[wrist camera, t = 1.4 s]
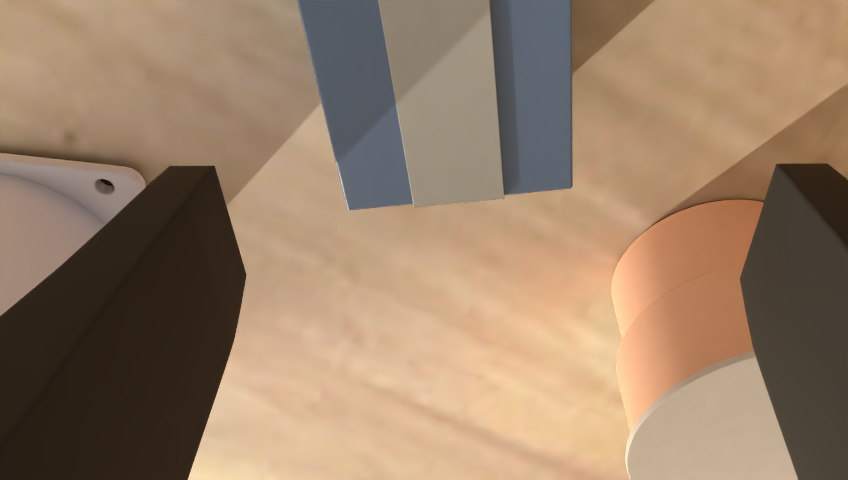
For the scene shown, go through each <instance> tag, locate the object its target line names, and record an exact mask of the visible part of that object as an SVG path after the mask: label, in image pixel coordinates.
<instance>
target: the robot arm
mask: <svg viewBox="0 0 848 480" xmlns="http://www.w3.org/2000/svg"><path fill="white" fill-rule="evenodd" d="M100 179H105V180H108V181H110V182H111V183H112V184H113V186H109V185H106V184H104V183H103V182H101V180H100ZM245 280H246V272H245V269H244V265H243V262H242V258H241V255H240V251H239V248H238V245H237V241H236V238H235V234H234V231H233V227H232V224H231V221H230V217H229V214H228V210H227V207H226V203H225V200H224V197H223V193H222V190H221V186H220V183H219V179H218V176H217V173H216V169H215V166H169V167H168V168H167V169H166V170H165V171H164V172H162V173H161V174H160V175H159V176H158V177H157V178H155V179H154V180H153V181H152V182H151V183H150V184H149V185H148V186H147V187H146V183H145V181H144V178H143V176H142V175H141V174H140V173H139V172H137V171H136V170H134V169H132V168H129V167H125V166H116V165H107V164H98V163H89V162H80V161H71V160H62V159H52V158H43V157H34V156H25V155H16V154H7V153H0V480H188V477H189V474H190V471H191V468H192V465H193V462H194V459H195V456H196V453H197V450H198V447H199V444H200V441H201V438H202V435H203V432H204V430H205V427H206V424H207V421H208V418H209V415H210V412H211V409H212V406H213V403H214V400H215V397H216V394H217V391H218V388H219V385H220V382H221V379H222V376H223V373H224V370H225V367H226V364H227V361H228V358H229V355H230V352H231V348H232V345H233V342H234V338H235V333H236V328H237V324H238V319H239V314H240V308H241V303H242V297H243V291H244V286H245ZM740 283H741V289H742V295H743V300H744V306H745V312H746V317H747V322H748V327H749V331H750V336H751V341H752V346H753V350H754V353H755V356H756V359H757V362H758V365H759V368H760V371H761V374H762V377H763V380H764V383H765V386H766V389H767V392H768V394H769V397H770V400H771V403H772V406H773V409H774V412H775V415H776V418H777V421H778V423H779V426H780V429H781V432H782V435H783V438H784V441H785V444H786V446H787V449H788V452H789V455H790V458H791V461H792V464H793V467H794V469H795V472H796V475H797V478H798V480H848V180H847V179H846V178H845V177H843V176H842V175H841V174H840V173H838V172H837V171H836V170H835V169H833V168H832V167H831V166H830V165H828V164H776V167H775V170H774V173H773V176H772V179H771V182H770V185H769V189H768V192H767V195H766V198H765V201H764V204H763V207H762V210H761V214H760V217H759V220H758V223H757V226H756V229H755V232H754V235H753V239H752V242H751V245H750V248H749V251H748V254H747V257H746V260H745V264H744V267H743V270H742V273H741V276H740Z"/></svg>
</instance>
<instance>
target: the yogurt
mask: <svg viewBox="0 0 848 480" xmlns="http://www.w3.org/2000/svg"><path fill="white" fill-rule="evenodd" d="M763 204H764V202H760V201H754V200H739V199H738V200H722V201H715V202H709V203H705V204H700V205H696V206H693V207H690V208H687V209H684V210H682V211H679V212H677V213H675V214H673V215H670V216H668V217H667V218H665V219H663V220H661V221H660V222H658V223H656V224H655V225H653V226H652V227H650V228H649V229H648V230H646V231H645V232H644V233H643V234H641V235H640V236H639V237H638V238H637V239H636V240H635V241H634V242H633V243H632V244H631V245H630V246H629V248H628V249H627V250H626V252H625V253H624V254H623V256H622V257H621V259H620V261H619V263H618V265H617V267H616V270H615V273H614V276H613V280H612V287H611V291H612V300H613V304H614V308H615V312H616V316H617V320H618V324H619V328H620V332H621V335H622V342H621V345H620V348H619V350H618V354H617V361H616V371H617V377H618V382H619V386H620V390H621V394H622V399H623V403H624V407H625V411H626V415H627V420H628V424H629V428H630V432H631V434H630V436H629V439H628V441H627V447H626V452H625V456H626V467H627V471H628V474H629V478H630V480H798V478H797V475H796V472H795V469H794V467H793V464H792V461H791V458H790V455H789V452H788V449H787V446H786V444H785V441H784V438H783V435H782V432H781V429H780V426H779V423H778V421H777V418H776V415H775V412H774V409H773V406H772V403H771V400H770V397H769V394H768V392H767V389H766V386H765V383H764V380H763V377H762V374H761V371H760V368H759V365H758V362H757V359H756V356H755V353H754V350H753V346H752V341H751V336H750V331H749V327H748V322H747V317H746V312H745V306H744V300H743V295H742V289H741V283H740V276H741V273H742V270H743V267H744V264H745V260H746V257H747V254H748V251H749V248H750V245H751V242H752V239H753V235H754V232H755V229H756V226H757V223H758V220H759V217H760V214H761V210H762V207H763Z"/></svg>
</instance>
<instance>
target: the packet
mask: <svg viewBox="0 0 848 480" xmlns="http://www.w3.org/2000/svg"><path fill="white" fill-rule="evenodd" d="M297 3H298V8H299V12H300V16H301V20H302V24H303V28H304V32H305V36H306V41H307V45H308V49H309V53H310V57H311V61H312V65H313V69H314V74H315V78H316V82H317V86H318V90H319V94H320V98H321V102H322V107H323V111H324V115H325V119H326V123H327V127H328V131H329V135H330V140H331V144H332V148H333V152H334V156H335V160H336V164H337V168H338V173H339V177H340V181H341V185H342V189H343V193H344V197H345V201H346V206H347V209H348V210H357V209H367V208H377V207H387V206H398V205H408V204H413V205H414V207H424V206H435V205H445V204H455V203H465V202H475V201H486V200H496V199H504V195H509V194H520V193H530V192H540V191H550V190H560V189H570V188H572V186H573V175H572V0H297Z"/></svg>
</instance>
